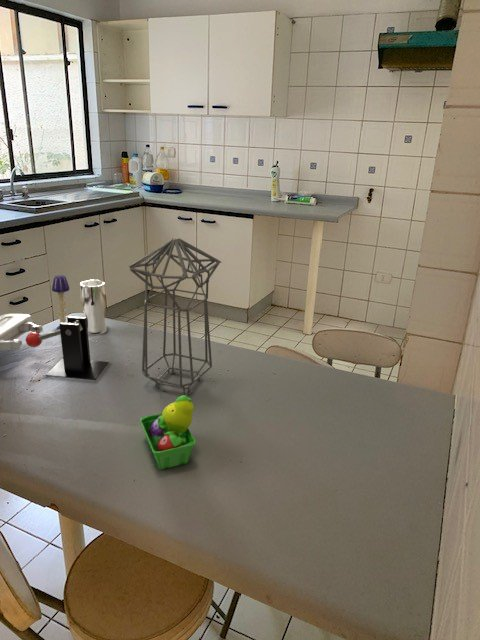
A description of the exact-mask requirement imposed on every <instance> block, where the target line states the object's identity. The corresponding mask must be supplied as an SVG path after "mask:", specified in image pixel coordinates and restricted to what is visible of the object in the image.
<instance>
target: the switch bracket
mask: <svg viewBox="0 0 480 640" xmlns="http://www.w3.org/2000/svg"><path fill="white" fill-rule="evenodd" d="M77 320H79V321H80V323H81V325H82V327H83V329H82V330H81V331H80V324H75V323H70V322H73V321H77ZM58 326H60V342H61V349H62V351H61V352H62V358H60V359H59V361H58V362H57V363H56V364H55V365H54V366H52V368H51V369H50V370H49V371H47V373H46V374H45V375H44V376H45V377H53V378H54V377H55V378H66V379H76V380H87V381H88V380H89V381H96V380H97V378H98V377H99V376H100V375H101V373H102V372H103V371H104V370H105V369H106V367H107V366H108V365H109V363H110V362H109V361H105V360H104V361H101V360H92V359H91V353H90V352H91V351H90V340H89V339H90V338H89V334H88V327H87V317H85V316H75V315H73V316H72V315H68V316H67V317H66V323H62V322H61V323H60V322H59V324H58Z"/></svg>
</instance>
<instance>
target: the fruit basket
mask: <svg viewBox="0 0 480 640" xmlns="http://www.w3.org/2000/svg"><path fill="white" fill-rule="evenodd" d="M185 395H186V394H185ZM185 395H184V394H181V395H179V396H178V397H177V398H176V399H175V401H173V402H171V403H169V404H168V405H166V406H165V407H164V409H163V411H162V413H157V414H152V415H147V416H143V417H141V418H140V419H139V421H140V424H141V427H142V429H143V431H144V434H145V437H146V441H147V443H148V445H149V447H150V450H151V452H152V454H153V457H154V459H155V462H156V464H157V467H158V469H159V470H164V469H166V468H172V467H176V466H180V465H183V464H188V463H189V460H190V458H191V454H192V451H193V448H194V446H195V444H196V439H195V438H194V436H193V435H192V433H191V431H190V429H189V428H190V426H191V424H192V421H193V413H194V409H195V406H194V404H193V402H192V399H191V398H190V397H188V395H186V396H185Z"/></svg>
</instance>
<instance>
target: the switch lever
mask: <svg viewBox="0 0 480 640" xmlns="http://www.w3.org/2000/svg"><path fill="white" fill-rule="evenodd" d="M70 323H75V324H80V331H81V330H82V329H83V327H82V325H81V323H80V321H79V320H77V321H73V322H70ZM57 336H61V334H60V329H59V330H56V329H55V330H53V331H50V332H46V333H43V334H41V333H40V334H39V333H36V332H32V331H31V332H30V333H28V334H27V335H26V336H25V344H26V345H27V346H28V347H31V348H37V347H39V346H40V345H41V344H42V343H43V340H47V339H50V338H53V337H57Z"/></svg>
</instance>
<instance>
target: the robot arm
mask: <svg viewBox="0 0 480 640" xmlns="http://www.w3.org/2000/svg"><path fill="white" fill-rule="evenodd" d="M43 328H44V327H43V325H42V324H35V323H34V322H33V316H32V315H30V314H28V313H4V314H1V315H0V352H3V351H9V350H20V349H21V348H22V347H23V341H22V340H21V339H19V338H20V337H21V336H23V335H24V334H26V333H29V332H31V333H32V332H36V333H39V334H40V335H41V333H42V332H43V331H44V329H43Z"/></svg>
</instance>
